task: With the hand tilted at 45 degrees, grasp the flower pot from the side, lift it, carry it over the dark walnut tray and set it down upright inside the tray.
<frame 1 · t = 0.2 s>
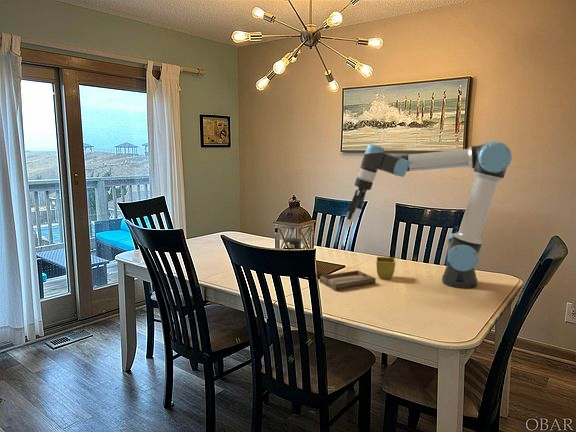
hand: (350, 223, 200), 27 cm above the table, tool tilted 15°, fingers open, 13 cm apart
walnut tray: (347, 283, 202), on the table
french press: (293, 272, 220), on the table
flower pot: (385, 278, 210), on the table
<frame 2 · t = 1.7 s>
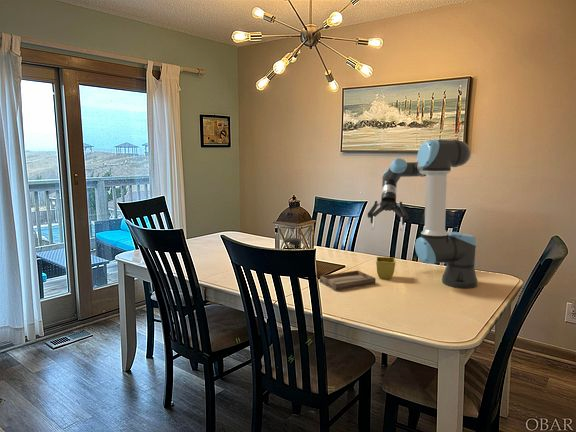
hand: (387, 228, 219), 21 cm above the table, tool tilted 45°, fingers open, 13 cm apart
nothing on the table moved.
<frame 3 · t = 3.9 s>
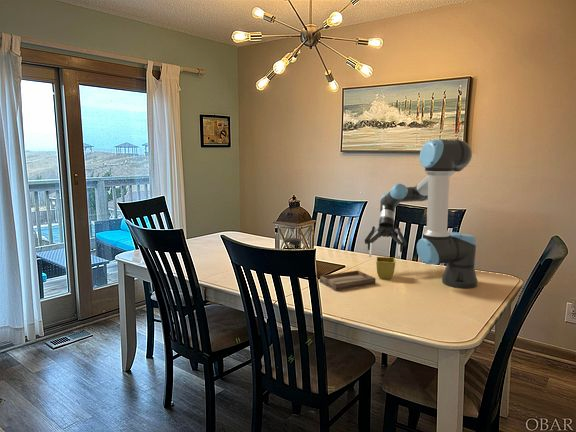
hand: (384, 256, 213), 9 cm above the table, tool tilted 45°, fingers open, 13 cm apart
nothing on the table moved.
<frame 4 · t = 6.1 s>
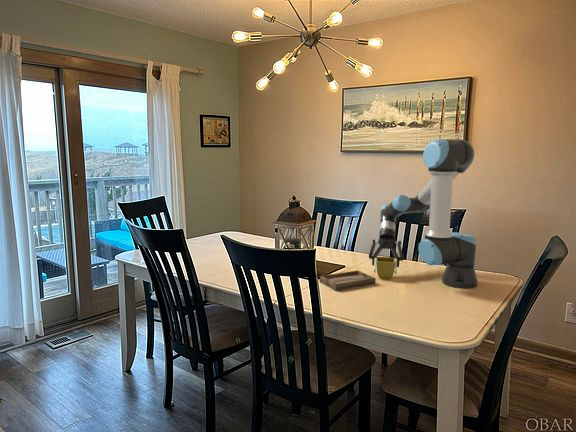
hand: (385, 271, 207), 4 cm above the table, tool tilted 45°, fingers closed on flower pot, 9 cm apart
flower pot: (385, 278, 210), on the table, touching gripper
everything else where it was.
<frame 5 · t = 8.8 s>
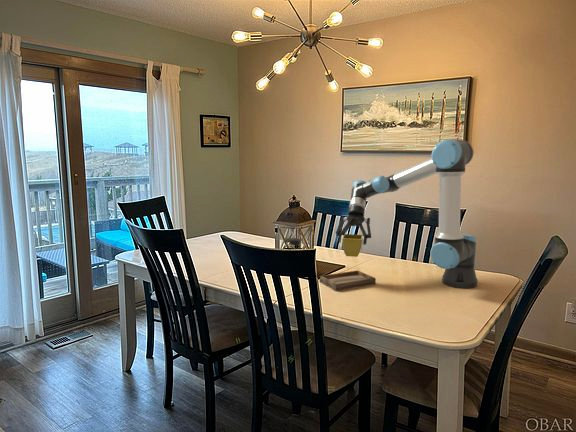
hand: (351, 249, 199), 16 cm above the table, tool tilted 45°, fingers closed on flower pot, 9 cm apart
flower pot: (352, 255, 203), point 12 cm above the table, touching gripper
everything else where it was.
when the fingers open (6 cm above the table, at t = 11.4 s): flower pot stays where it is, resting on walnut tray.
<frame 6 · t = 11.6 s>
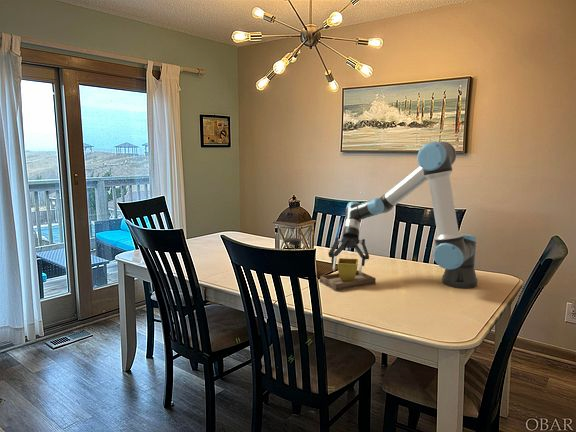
hand: (346, 270, 198), 7 cm above the table, tool tilted 45°, fingers open, 11 cm apart
flower pot: (347, 280, 202), point 1 cm above the table, touching walnut tray
everything else where it was.
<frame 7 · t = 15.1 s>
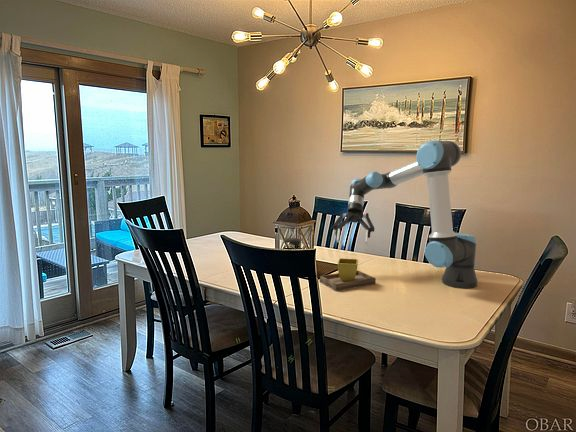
hand: (351, 242, 210), 17 cm above the table, tool tilted 45°, fingers open, 13 cm apart
nothing on the table moved.
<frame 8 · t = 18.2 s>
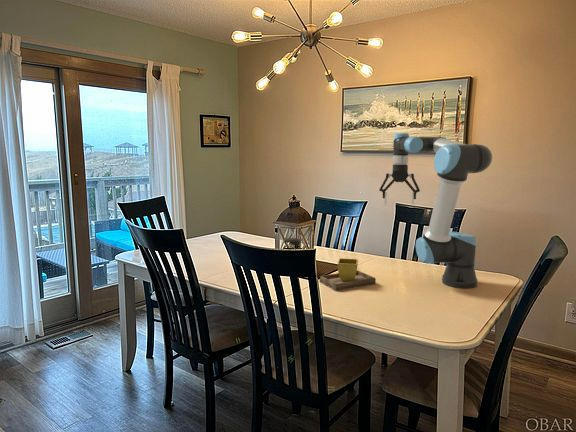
hand: (398, 205, 228), 32 cm above the table, tool pointing down, fingers open, 13 cm apart
nothing on the table moved.
at the end: flower pot inside the target area on the walnut tray (0.2 cm from its centre), point 1.3 cm above the walnut tray's base; flower pot tilted 0°; the gripper is holding nothing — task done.
